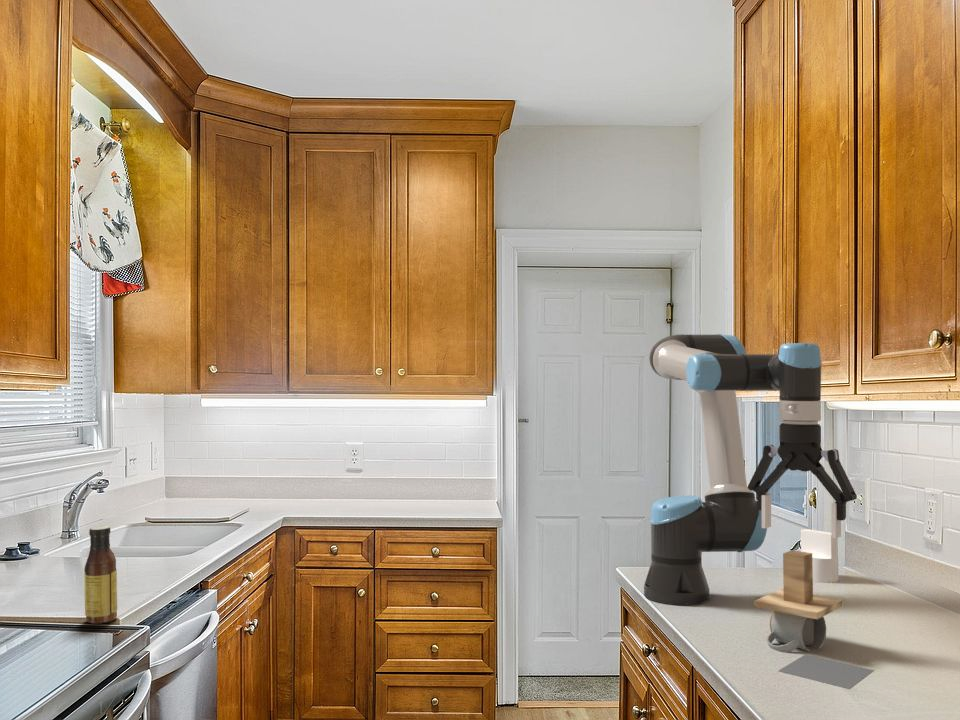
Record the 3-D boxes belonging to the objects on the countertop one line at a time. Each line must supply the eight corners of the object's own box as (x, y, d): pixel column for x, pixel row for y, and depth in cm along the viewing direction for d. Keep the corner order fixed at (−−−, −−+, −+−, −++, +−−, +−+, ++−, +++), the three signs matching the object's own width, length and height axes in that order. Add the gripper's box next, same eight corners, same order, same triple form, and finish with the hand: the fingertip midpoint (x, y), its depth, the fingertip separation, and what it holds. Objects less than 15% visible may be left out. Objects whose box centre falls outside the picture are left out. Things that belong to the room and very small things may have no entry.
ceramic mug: (790, 637, 161) (789, 598, 161) (828, 648, 154) (826, 608, 155) (756, 647, 155) (755, 607, 156) (793, 659, 149) (792, 617, 149)
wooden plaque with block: (781, 595, 164) (781, 544, 164) (842, 606, 156) (841, 553, 156) (754, 606, 156) (753, 553, 156) (817, 619, 147) (816, 563, 147)
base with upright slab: (845, 579, 209) (844, 532, 209) (826, 584, 204) (825, 536, 204) (813, 572, 216) (812, 527, 217) (793, 577, 211) (793, 531, 211)
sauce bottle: (105, 614, 176) (106, 523, 177) (123, 619, 173) (124, 525, 174) (77, 622, 171) (78, 527, 171) (95, 627, 168) (96, 530, 168)
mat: (805, 657, 150) (805, 654, 150) (874, 673, 141) (874, 670, 141) (777, 673, 141) (777, 670, 141) (849, 692, 133) (849, 688, 133)
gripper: (730, 420, 163) (731, 526, 163) (860, 426, 146) (860, 544, 146) (747, 418, 169) (747, 521, 168) (874, 424, 151) (875, 538, 151)
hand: (800, 532), depth 157 cm, fingers open, 13 cm apart
